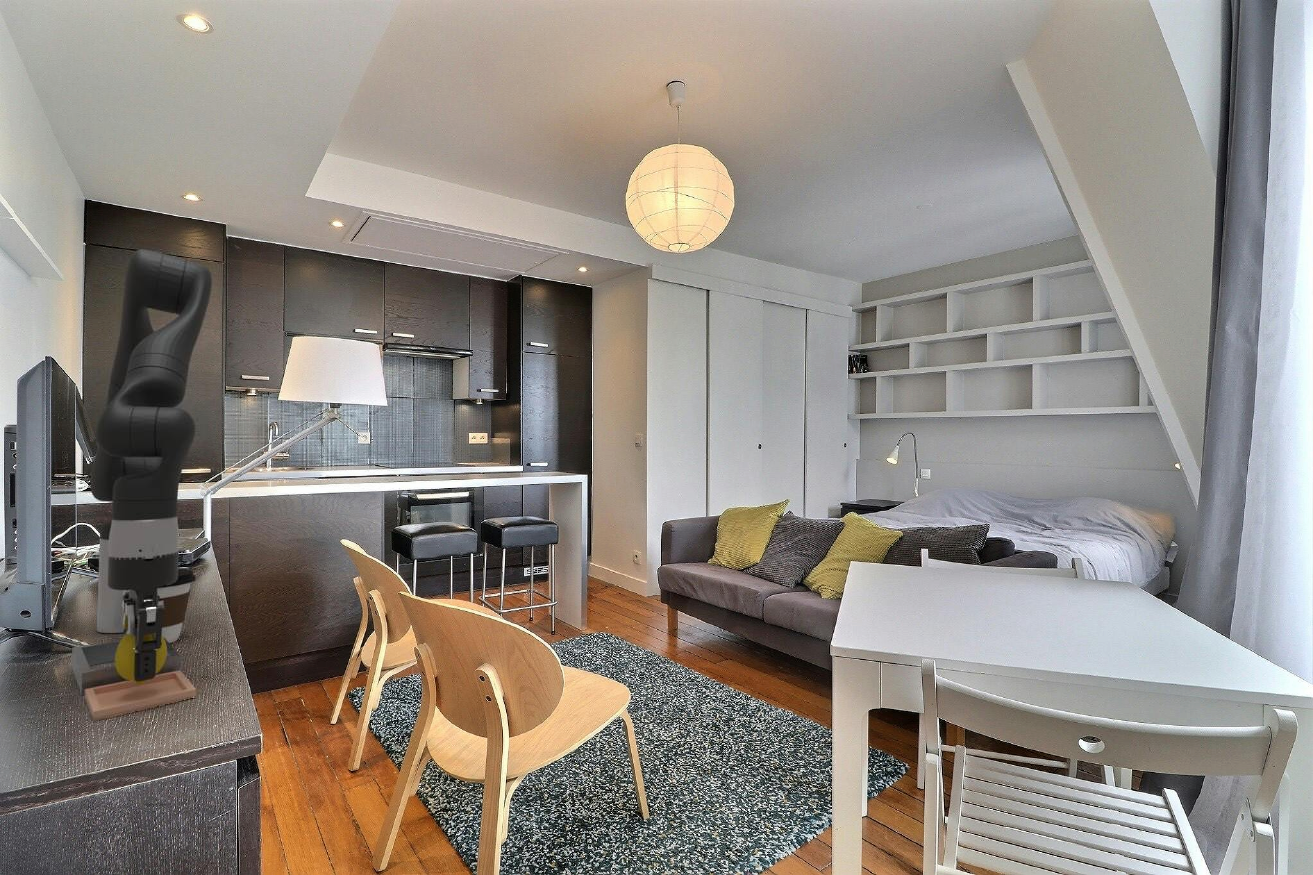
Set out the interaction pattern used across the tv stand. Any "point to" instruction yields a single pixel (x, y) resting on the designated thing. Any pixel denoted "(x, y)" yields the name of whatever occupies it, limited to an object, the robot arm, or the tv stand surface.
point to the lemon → (126, 657)
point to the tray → (138, 695)
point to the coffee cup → (174, 603)
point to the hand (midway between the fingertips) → (141, 673)
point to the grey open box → (109, 675)
